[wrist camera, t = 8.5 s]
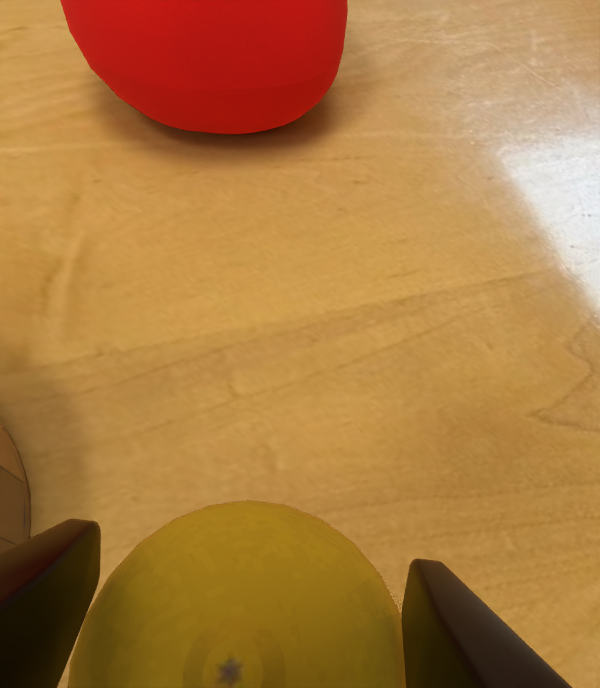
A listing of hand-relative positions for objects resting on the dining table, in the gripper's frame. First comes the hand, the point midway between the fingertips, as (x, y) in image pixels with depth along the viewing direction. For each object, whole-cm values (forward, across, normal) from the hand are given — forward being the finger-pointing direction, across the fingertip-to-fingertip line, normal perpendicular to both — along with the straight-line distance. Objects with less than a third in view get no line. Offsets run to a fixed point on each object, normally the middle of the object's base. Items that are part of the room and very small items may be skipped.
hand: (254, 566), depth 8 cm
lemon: (+4, 0, +6) cm, 7 cm away
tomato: (+28, +6, -10) cm, 30 cm away
